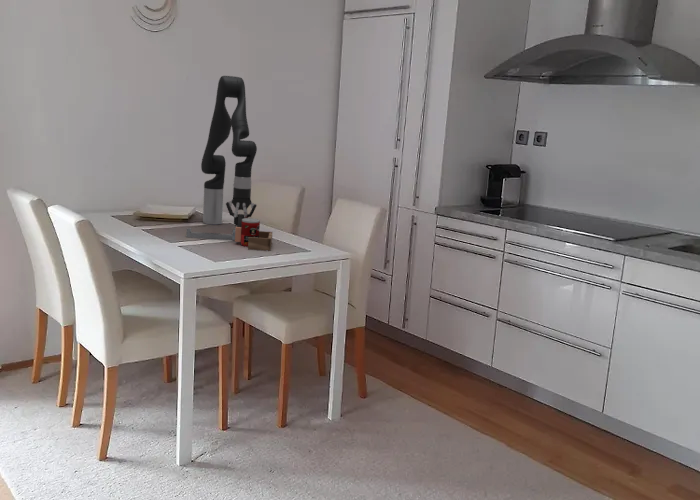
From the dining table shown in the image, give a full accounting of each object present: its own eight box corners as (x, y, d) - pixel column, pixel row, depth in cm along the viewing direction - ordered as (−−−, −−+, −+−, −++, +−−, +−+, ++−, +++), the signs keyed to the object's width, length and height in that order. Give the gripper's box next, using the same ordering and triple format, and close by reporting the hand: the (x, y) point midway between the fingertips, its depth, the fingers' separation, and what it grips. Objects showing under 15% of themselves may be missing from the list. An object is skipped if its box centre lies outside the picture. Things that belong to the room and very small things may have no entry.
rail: (187, 235, 293) (187, 227, 292) (256, 240, 295) (256, 232, 295) (186, 237, 290) (186, 229, 289) (255, 241, 293) (256, 233, 292)
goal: (250, 241, 291) (251, 230, 290) (271, 243, 292) (272, 231, 291) (248, 249, 277) (248, 237, 276) (270, 250, 277) (270, 239, 276)
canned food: (243, 247, 280) (244, 221, 277) (238, 243, 287) (239, 218, 284) (261, 246, 283) (262, 221, 281) (255, 242, 290) (256, 218, 288)
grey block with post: (233, 237, 296) (234, 213, 293) (247, 238, 296) (248, 214, 294) (230, 243, 283) (231, 218, 281) (244, 244, 284) (245, 219, 281)
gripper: (259, 186, 292) (257, 225, 296) (227, 184, 291) (225, 223, 295) (257, 189, 285) (255, 228, 289) (224, 186, 284) (223, 226, 288)
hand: (240, 225), depth 292 cm, fingers closed on grey block with post, 3 cm apart
